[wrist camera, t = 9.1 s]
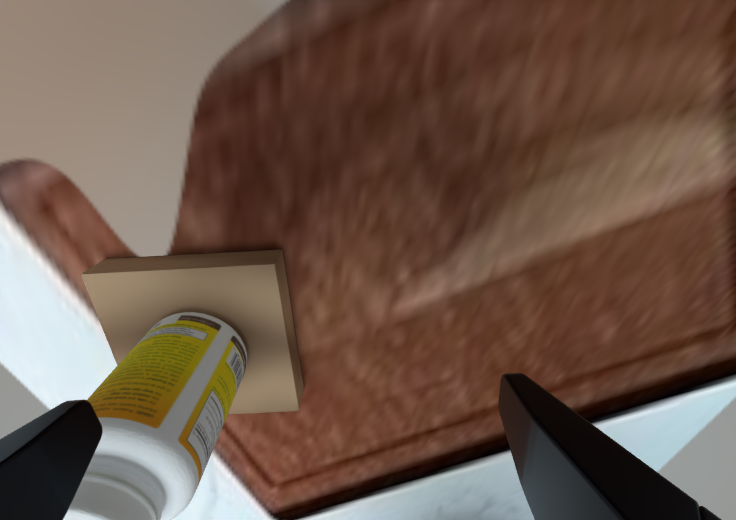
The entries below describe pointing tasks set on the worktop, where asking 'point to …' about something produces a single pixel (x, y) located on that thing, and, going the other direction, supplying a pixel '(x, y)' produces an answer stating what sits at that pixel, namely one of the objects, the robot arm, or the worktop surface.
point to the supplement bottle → (160, 420)
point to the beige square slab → (209, 313)
